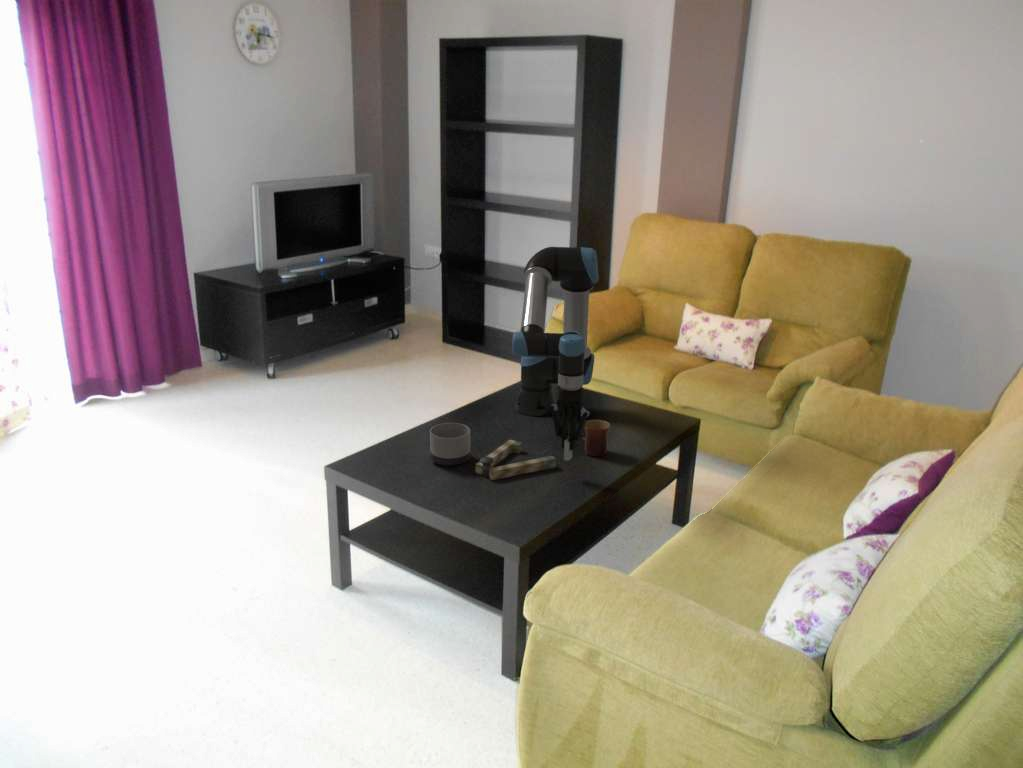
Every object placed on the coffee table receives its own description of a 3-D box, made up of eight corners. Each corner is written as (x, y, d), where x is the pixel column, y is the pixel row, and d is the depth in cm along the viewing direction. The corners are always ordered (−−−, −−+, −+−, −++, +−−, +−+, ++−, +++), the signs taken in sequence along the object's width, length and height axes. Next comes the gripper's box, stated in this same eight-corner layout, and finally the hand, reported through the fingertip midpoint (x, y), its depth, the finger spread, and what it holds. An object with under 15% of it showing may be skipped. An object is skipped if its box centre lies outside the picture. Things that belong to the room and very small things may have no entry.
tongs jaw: (492, 480, 256) (492, 471, 255) (489, 477, 258) (488, 468, 257) (555, 467, 265) (555, 458, 264) (551, 464, 268) (551, 455, 266)
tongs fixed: (489, 479, 257) (489, 463, 255) (472, 475, 260) (472, 458, 258) (525, 451, 277) (526, 436, 275) (509, 447, 280) (509, 432, 278)
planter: (424, 465, 267) (423, 435, 263) (440, 449, 278) (440, 420, 275) (460, 471, 263) (460, 440, 259) (476, 455, 274) (476, 425, 271)
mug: (614, 453, 277) (615, 424, 273) (598, 461, 271) (599, 432, 267) (585, 442, 284) (586, 414, 281) (569, 450, 278) (570, 422, 275)
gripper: (545, 386, 249) (543, 458, 257) (585, 394, 244) (582, 467, 251) (556, 379, 256) (554, 450, 263) (595, 386, 250) (592, 458, 257)
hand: (567, 458), depth 257 cm, fingers closed
